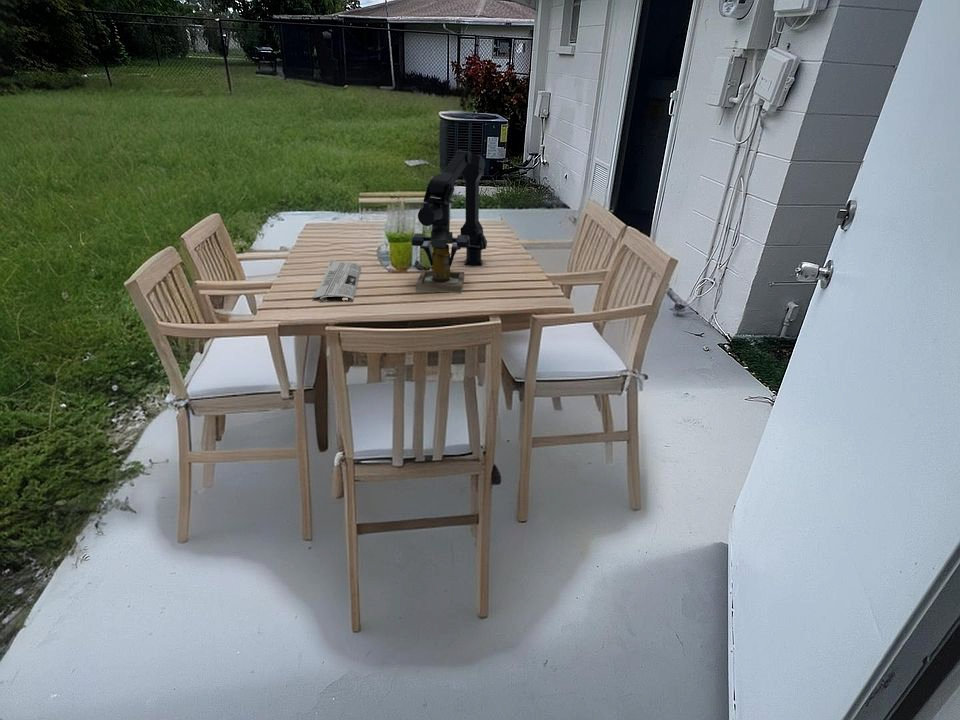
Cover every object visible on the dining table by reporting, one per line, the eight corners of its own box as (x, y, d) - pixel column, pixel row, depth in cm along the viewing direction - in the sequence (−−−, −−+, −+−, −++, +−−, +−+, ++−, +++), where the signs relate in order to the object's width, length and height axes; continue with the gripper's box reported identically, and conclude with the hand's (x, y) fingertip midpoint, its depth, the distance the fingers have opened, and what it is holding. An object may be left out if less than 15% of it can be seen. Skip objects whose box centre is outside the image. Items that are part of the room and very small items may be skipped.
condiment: (446, 274, 198) (446, 241, 193) (457, 282, 192) (457, 247, 186) (427, 277, 195) (426, 243, 190) (437, 285, 189) (437, 250, 183)
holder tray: (421, 277, 201) (421, 270, 200) (464, 278, 201) (464, 271, 200) (416, 291, 188) (416, 284, 187) (461, 293, 188) (461, 286, 186)
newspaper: (353, 303, 179) (352, 292, 177) (312, 304, 177) (311, 293, 176) (361, 268, 210) (360, 259, 208) (327, 268, 208) (326, 259, 207)
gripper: (408, 224, 177) (410, 272, 184) (468, 226, 177) (467, 274, 184) (413, 216, 187) (414, 261, 194) (469, 218, 187) (469, 263, 194)
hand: (441, 265), depth 191 cm, fingers closed on condiment, 6 cm apart
